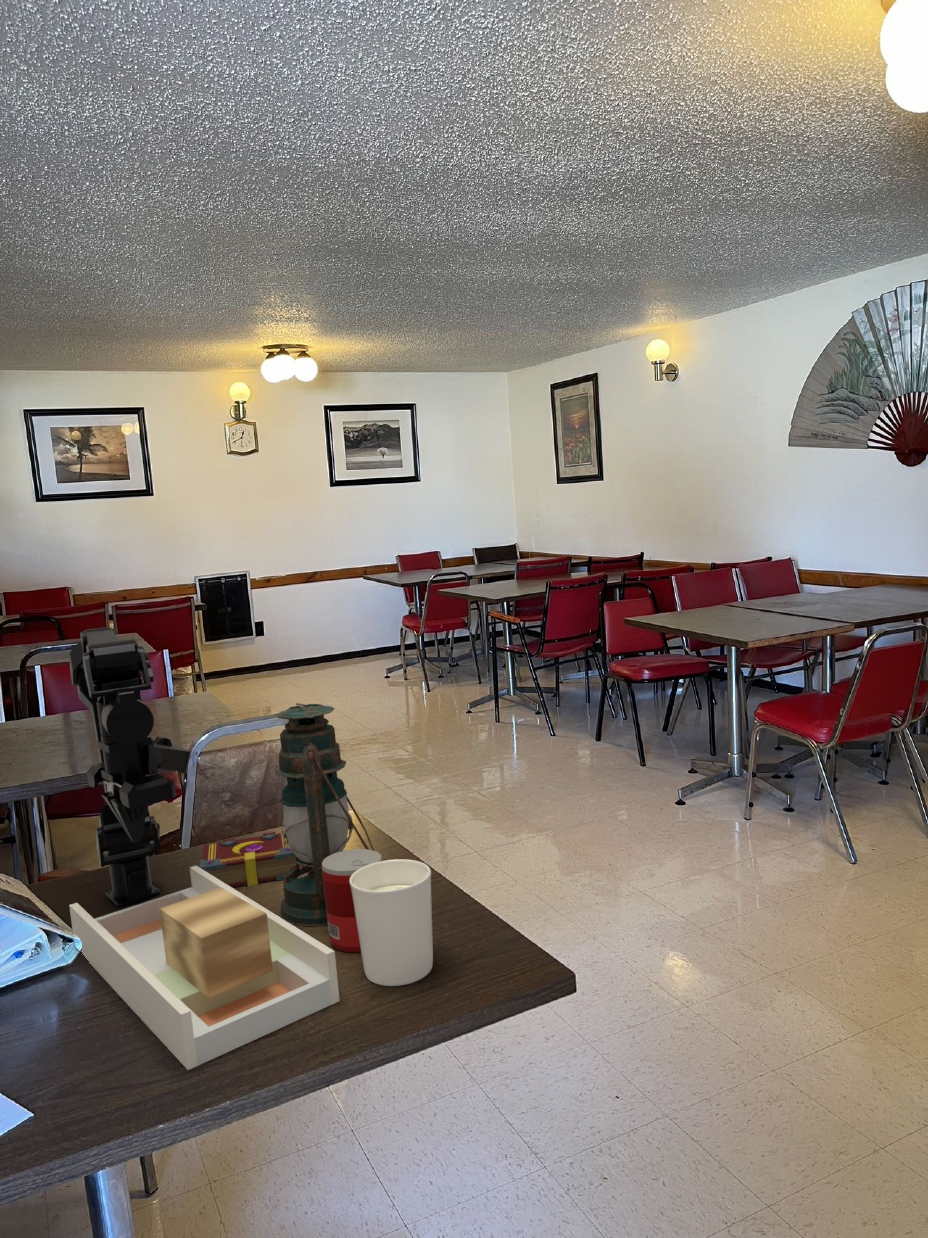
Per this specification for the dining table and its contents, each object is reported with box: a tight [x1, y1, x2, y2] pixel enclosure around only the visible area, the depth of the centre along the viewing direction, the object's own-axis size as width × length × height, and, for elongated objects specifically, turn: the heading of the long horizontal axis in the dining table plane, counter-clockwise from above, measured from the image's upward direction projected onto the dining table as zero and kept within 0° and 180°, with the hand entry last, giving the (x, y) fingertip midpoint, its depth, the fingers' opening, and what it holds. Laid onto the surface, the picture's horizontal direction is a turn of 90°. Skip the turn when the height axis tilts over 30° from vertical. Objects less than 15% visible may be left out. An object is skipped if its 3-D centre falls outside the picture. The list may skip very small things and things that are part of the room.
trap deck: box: [69, 865, 341, 1071], centre depth 112 cm, size 40×18×6 cm, turn 39°
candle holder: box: [349, 858, 434, 987], centre depth 108 cm, size 10×10×12 cm
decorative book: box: [199, 831, 303, 888], centre depth 145 cm, size 11×16×5 cm
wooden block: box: [160, 887, 273, 998], centre depth 107 cm, size 12×8×7 cm, turn 40°
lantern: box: [275, 702, 376, 927], centre depth 128 cm, size 19×14×30 cm
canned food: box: [322, 848, 384, 953], centre depth 117 cm, size 8×8×11 cm
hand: (136, 841), depth 125 cm, fingers closed
